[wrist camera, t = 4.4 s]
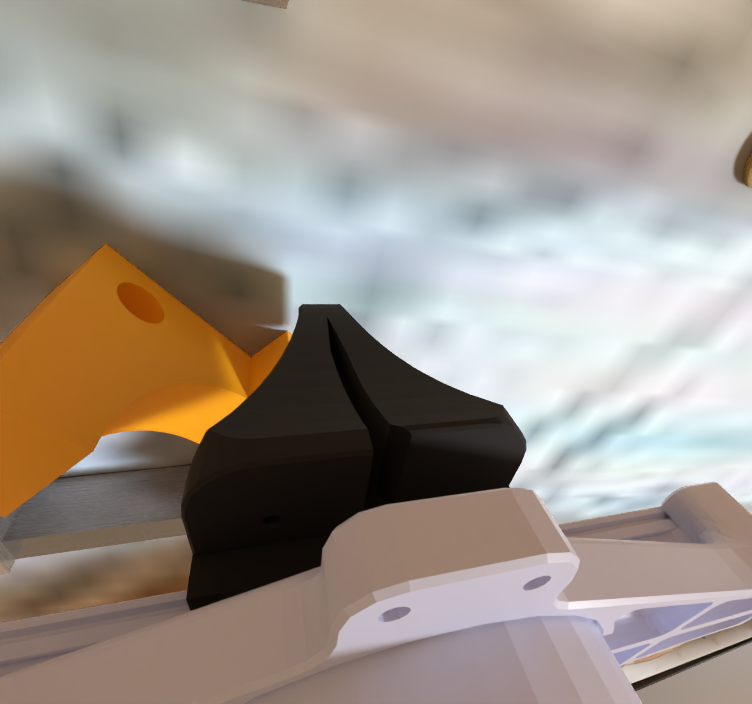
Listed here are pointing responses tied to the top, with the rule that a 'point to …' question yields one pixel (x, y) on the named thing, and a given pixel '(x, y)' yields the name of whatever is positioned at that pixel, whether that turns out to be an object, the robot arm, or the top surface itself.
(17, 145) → the top surface
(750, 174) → the brass spoon
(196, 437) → the pipe clamp
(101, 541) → the hitch bracket
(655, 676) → the ramen bowl
